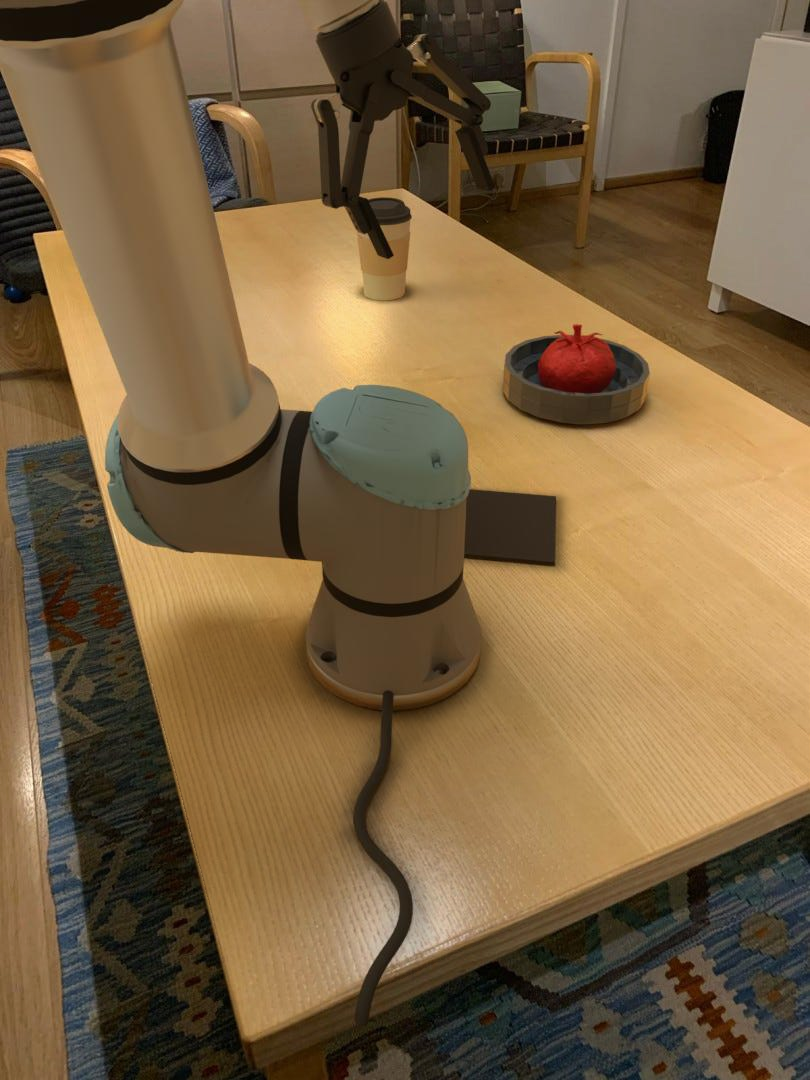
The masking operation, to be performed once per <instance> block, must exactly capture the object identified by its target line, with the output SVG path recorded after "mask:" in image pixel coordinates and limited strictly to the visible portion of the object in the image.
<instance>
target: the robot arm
mask: <svg viewBox="0 0 810 1080" xmlns="http://www.w3.org/2000/svg"><path fill="white" fill-rule="evenodd" d="M184 2H185V0H0V73H1V76H2V78H3V81H4V84H5V86H6V89H7V91H8V95H9V97H10V99H11V102H12V104H13V107H14V110H15V112H16V114H17V118H18V119H19V120H18V121H19V122H20V125H21V127H22V131H23V133H24V135H25V138H26V140H27V142H28V143H27V144H28V145H29V148H30V151H31V153H32V156H33V158H34V160H35V163H36V166H37V168H38V171H39V173H40V176H41V178H42V181H43V184H44V186H45V189H46V191H47V194H48V196H49V199H50V202H51V204H52V206H53V209H54V212H55V215H56V216H57V217H56V218H57V219H58V222H59V224H60V227H61V229H62V230H61V231H62V233H63V235H64V237H65V240H66V243H67V245H68V248H69V250H70V252H71V256H72V258H73V260H74V263H75V265H76V268H77V270H78V274H79V276H80V278H81V281H82V284H83V286H84V289H85V292H86V293H87V296H88V299H89V301H90V304H91V306H92V309H93V312H94V314H95V316H96V318H97V322H98V324H99V327H100V329H101V332H102V334H103V338H104V340H105V342H106V344H107V347H108V350H109V352H110V355H111V358H112V361H113V363H114V365H115V368H116V370H117V373H118V375H119V378H120V381H121V383H122V386H123V388H124V390H125V393H126V396H125V397H124V399H123V400H122V402H121V404H120V406H119V409H118V413H117V415H116V417H115V418H114V419H113V422H112V424H111V426H110V429H109V431H108V434H107V439H106V445H105V452H104V470H105V471H106V473H108V475H109V481H108V483H107V484H106V487H107V492H108V496H109V500H110V503H111V506H112V508H113V510H114V513H115V515H116V517H117V519H118V520H119V522H120V524H121V525H122V526H123V527H124V529H125V530H126V531H127V532H128V534H130V536H132V537H133V538H134V539H136V540H137V541H139V542H141V543H143V544H145V545H148V546H151V547H156V548H165V549H169V550H171V551H172V550H173V551H175V552H179V553H184V554H185V553H186V554H188V553H189V554H194V553H205V554H206V553H209V554H219V555H233V556H234V555H235V556H246V557H247V556H248V557H258V558H259V557H262V558H272V559H273V558H274V559H286V560H290V559H291V560H295V561H297V560H298V561H308V562H319V563H320V562H321V570H322V572H321V573H322V581H321V583H320V587H319V589H318V592H317V595H316V598H315V601H314V604H313V607H312V610H311V613H310V615H309V618H308V622H307V626H306V630H305V647H306V657H307V662H308V666H309V668H310V671H311V672H312V675H314V677H315V678H316V680H317V681H318V682H319V683H320V685H322V687H324V688H325V689H326V690H327V691H328V692H330V693H331V694H332V695H334V696H336V697H337V698H339V699H341V700H343V701H345V702H348V703H349V704H352V705H355V706H359V707H362V708H366V709H372V710H378V711H381V715H380V741H379V742H380V743H379V744H380V745H379V751H378V756H377V759H376V762H375V765H374V768H373V770H372V771H371V773H370V775H369V777H368V778H367V780H366V782H365V783H364V785H363V786H362V788H361V790H360V792H359V794H358V795H357V799H356V801H355V804H354V808H353V813H352V814H353V816H352V818H353V821H352V822H353V823H352V824H353V828H354V833H355V835H356V839H357V840H358V843H359V845H361V847H362V849H363V850H364V852H365V853H366V854H367V856H368V857H369V858H370V859H371V860H372V861H373V862H374V863H375V864H376V865H377V866H378V867H379V868H380V870H381V871H382V872H383V873H384V874H385V875H386V876H387V877H388V879H389V880H390V882H391V883H392V884H393V886H394V888H395V890H396V892H397V895H398V902H399V911H398V912H399V914H398V919H397V921H396V924H395V927H394V929H393V931H392V933H391V935H390V936H389V938H388V939H387V941H386V943H384V946H383V947H382V948H381V949H380V951H379V952H378V954H377V956H376V957H375V959H374V960H373V962H372V963H371V965H370V967H369V969H368V971H367V972H366V974H365V977H364V979H363V982H362V984H361V987H360V990H359V994H358V997H357V1002H356V1006H355V1012H354V1020H353V1021H354V1023H355V1025H356V1027H359V1028H362V1027H365V1026H366V1025H367V1023H369V1019H370V1012H371V1008H372V1004H373V1003H372V1002H373V999H374V996H375V993H376V990H377V987H378V985H379V982H380V980H381V978H382V977H383V974H384V973H385V972H386V970H387V968H388V966H389V965H390V963H391V962H392V960H393V959H394V957H395V956H396V954H397V953H398V951H399V949H400V948H401V946H402V945H403V944H404V941H405V940H406V938H407V936H408V934H409V931H410V928H411V925H412V922H413V915H414V902H413V895H412V892H411V888H410V886H409V883H408V881H407V879H406V877H405V876H404V874H403V872H402V871H401V870H400V869H399V867H398V866H397V865H396V864H395V863H394V862H393V860H392V859H390V858H389V856H388V855H387V854H386V853H385V852H384V851H383V850H382V849H381V848H380V847H379V846H378V845H377V844H376V841H374V840H373V838H372V836H371V835H370V833H369V831H368V828H367V821H366V816H367V815H366V814H367V809H368V805H369V802H370V800H371V798H372V796H373V794H374V792H375V791H376V789H377V787H378V785H379V784H380V782H381V781H382V779H383V777H384V774H385V772H386V771H387V768H388V765H389V763H390V758H391V754H392V753H391V752H392V745H393V744H392V743H393V714H394V713H393V712H394V711H406V710H413V709H414V710H415V709H418V708H423V707H427V706H430V705H433V704H435V703H438V702H440V701H443V700H444V699H447V698H448V697H450V696H451V695H453V694H455V693H456V692H457V691H459V690H460V689H461V688H462V687H463V686H464V685H466V683H467V682H468V681H469V680H470V679H471V677H473V674H474V673H475V671H476V669H477V667H478V664H479V661H480V655H481V644H482V630H481V625H480V622H479V619H478V616H477V613H476V611H475V608H474V604H473V602H472V599H471V596H470V594H469V591H468V588H467V585H466V581H465V579H464V564H465V558H464V546H465V522H466V498H467V496H468V494H469V491H470V489H471V486H472V485H471V484H472V477H471V473H470V470H469V440H468V438H467V434H466V431H465V429H464V427H463V425H462V424H461V422H460V421H459V420H458V418H457V417H456V416H455V415H454V414H453V413H452V412H451V411H449V410H448V409H446V408H444V407H443V406H442V405H441V404H440V403H439V402H437V401H436V400H434V399H432V398H430V397H429V396H426V395H424V394H421V393H418V392H416V391H412V390H409V389H406V388H401V387H396V386H390V385H382V384H359V385H355V386H354V387H353V389H350V388H346V387H342V388H339V389H336V390H333V391H331V392H329V393H327V394H325V395H324V396H323V397H321V398H320V399H319V400H318V402H317V403H316V405H315V406H314V408H313V410H312V411H311V410H295V409H285V408H284V409H282V408H281V405H280V399H279V395H278V392H277V389H276V387H275V385H274V383H273V381H272V380H271V378H270V377H269V376H268V375H267V374H266V373H265V372H264V371H263V370H262V369H260V368H259V367H258V366H256V365H254V364H251V363H250V362H249V357H248V354H247V349H246V345H245V341H244V335H243V332H242V328H241V323H240V318H239V314H238V310H237V306H236V301H235V297H234V293H233V289H232V284H231V279H230V276H229V272H228V271H229V270H228V267H227V262H226V257H225V254H224V249H223V245H222V240H221V237H220V232H219V228H218V224H217V223H218V222H217V219H216V214H215V211H214V206H213V203H212V197H211V194H210V190H209V185H208V180H207V176H206V172H205V167H204V164H203V163H204V162H203V158H202V154H201V150H200V146H199V141H198V138H197V133H196V128H195V125H194V120H193V119H194V118H193V115H192V111H191V106H190V101H189V98H188V94H187V89H186V84H185V80H184V77H183V73H182V67H181V64H180V60H179V55H178V51H177V46H176V42H175V37H174V33H173V28H172V24H171V23H172V21H173V19H174V18H175V16H176V14H177V12H178V11H179V9H180V8H181V6H182V4H183V3H184ZM297 3H298V5H299V7H300V9H301V11H302V13H303V16H304V18H305V20H306V22H307V24H308V27H309V28H310V29H311V30H314V31H318V33H317V34H316V37H315V38H316V39H315V43H316V45H317V48H318V49H319V51H320V54H321V57H322V58H323V60H324V63H325V65H326V67H327V69H328V71H329V73H330V75H331V77H332V79H333V81H334V85H335V92H334V93H332V94H331V95H328V96H327V97H324V98H315V99H313V100H312V102H311V103H310V108H311V111H312V113H313V117H314V118H315V122H316V124H317V131H318V132H317V134H318V154H319V171H320V173H319V174H320V175H319V176H320V190H321V192H320V193H321V203H322V204H323V206H325V207H327V208H331V209H335V210H337V209H339V208H344V209H345V210H346V213H347V214H348V217H349V219H350V221H351V223H352V225H353V227H354V229H355V230H356V232H359V233H362V234H366V233H367V234H368V236H369V238H370V240H371V242H372V244H373V246H374V248H375V250H376V253H377V255H378V256H381V257H383V258H386V259H390V258H391V257H393V256H394V254H393V252H392V250H391V248H390V246H389V244H388V242H387V239H386V237H385V235H384V233H383V231H382V229H381V227H380V225H379V222H378V220H377V218H376V216H375V214H374V212H373V210H372V208H371V205H370V203H369V201H368V198H367V197H364V196H361V195H360V194H361V188H362V183H363V178H364V172H365V166H366V160H367V155H368V149H369V143H370V138H371V134H372V133H373V131H374V128H375V127H374V126H375V123H376V122H378V121H379V122H380V121H384V120H386V119H387V118H389V116H390V115H391V114H392V113H393V112H394V111H397V110H400V109H403V108H404V107H406V106H408V105H407V102H408V100H411V101H414V102H416V103H417V104H420V105H422V106H423V107H425V108H427V109H429V110H431V111H433V112H435V113H436V114H439V115H441V116H443V117H445V118H447V119H449V120H451V121H452V122H455V123H457V124H459V125H460V126H462V127H460V128H459V129H457V130H455V131H454V132H455V136H456V137H457V140H458V144H459V145H460V148H461V150H462V153H463V157H464V158H465V161H466V163H467V166H468V170H469V171H470V173H471V177H472V179H473V182H474V185H475V186H476V189H477V190H480V191H486V192H491V191H493V190H494V189H496V184H495V183H494V180H493V178H492V175H491V172H490V169H489V166H488V164H487V161H486V159H485V155H487V154H488V153H489V146H488V143H487V141H486V138H485V135H484V133H483V130H482V127H481V126H482V124H483V122H484V116H483V115H484V113H485V112H487V111H489V110H490V109H491V105H492V103H491V100H490V99H489V97H487V95H485V94H484V93H483V92H482V90H480V89H479V88H478V87H477V86H476V85H475V84H474V83H473V81H471V80H470V78H468V77H467V76H466V75H465V74H464V73H463V72H462V71H461V70H460V69H459V68H458V67H457V66H456V65H455V64H454V63H453V62H452V61H451V60H450V59H449V58H448V57H447V56H446V55H445V54H444V53H443V51H442V50H441V47H440V45H439V43H438V42H437V40H436V38H435V36H434V35H433V33H423V34H416V35H415V36H414V37H413V40H412V42H411V44H409V45H408V46H407V47H406V46H405V45H404V43H403V41H402V38H401V34H400V31H399V28H398V26H397V24H396V21H395V18H394V16H393V13H392V11H391V9H390V6H389V4H388V1H385V0H297ZM414 60H415V61H417V62H418V63H419V64H424V65H425V67H426V68H427V69H428V70H429V71H430V72H431V73H433V75H434V76H436V78H438V79H439V80H440V81H441V82H442V83H443V84H444V85H445V86H446V87H447V88H448V89H449V90H450V91H451V92H452V93H453V94H455V95H456V97H457V98H459V100H461V102H463V103H464V104H465V105H466V106H467V107H465V106H463V105H461V104H459V103H458V102H455V101H453V100H452V99H450V98H448V97H446V96H444V95H442V94H440V93H438V92H436V91H435V90H433V89H431V88H429V87H428V86H427V85H426V84H425V83H422V82H420V81H418V80H417V79H414V78H413V71H414ZM341 106H343V107H344V108H346V109H348V110H350V116H349V121H348V130H349V134H348V139H347V145H346V152H345V157H344V164H343V169H342V176H341V157H340V156H341V155H340V133H339V132H340V131H339V124H338V119H339V118H340V114H341V111H340V108H341Z"/></svg>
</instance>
